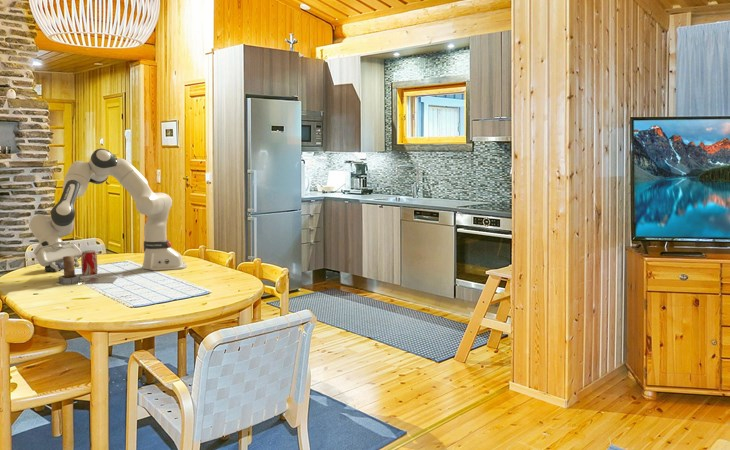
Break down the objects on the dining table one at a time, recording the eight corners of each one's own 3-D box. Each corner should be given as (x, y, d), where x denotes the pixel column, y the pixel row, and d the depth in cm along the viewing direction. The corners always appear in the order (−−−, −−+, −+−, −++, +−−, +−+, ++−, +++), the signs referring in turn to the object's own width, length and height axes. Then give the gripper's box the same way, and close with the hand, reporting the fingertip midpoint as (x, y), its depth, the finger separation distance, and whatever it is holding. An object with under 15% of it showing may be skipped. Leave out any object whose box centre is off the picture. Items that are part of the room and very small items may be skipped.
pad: (117, 279, 299) (117, 277, 299) (112, 285, 288) (112, 282, 287) (90, 280, 297) (90, 277, 297) (84, 285, 285) (84, 283, 285)
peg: (76, 281, 289) (75, 255, 288) (73, 283, 285) (72, 257, 284) (65, 281, 288) (64, 256, 287) (63, 283, 284) (62, 257, 283)
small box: (57, 271, 316) (56, 251, 315) (44, 271, 316) (43, 251, 315) (67, 268, 327) (66, 248, 326) (55, 267, 327) (54, 247, 326)
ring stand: (87, 281, 294) (86, 273, 293) (80, 287, 282) (80, 278, 282) (59, 282, 291) (58, 274, 291) (51, 288, 280) (51, 279, 279)
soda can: (91, 277, 304) (90, 252, 302) (78, 276, 305) (77, 252, 304) (100, 274, 311) (99, 250, 309) (87, 273, 312) (86, 249, 311)
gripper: (69, 245, 300) (85, 268, 298) (30, 253, 283) (45, 277, 280) (75, 237, 298) (91, 259, 295) (35, 244, 280) (51, 268, 277)
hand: (68, 268), depth 287 cm, fingers open, 8 cm apart
